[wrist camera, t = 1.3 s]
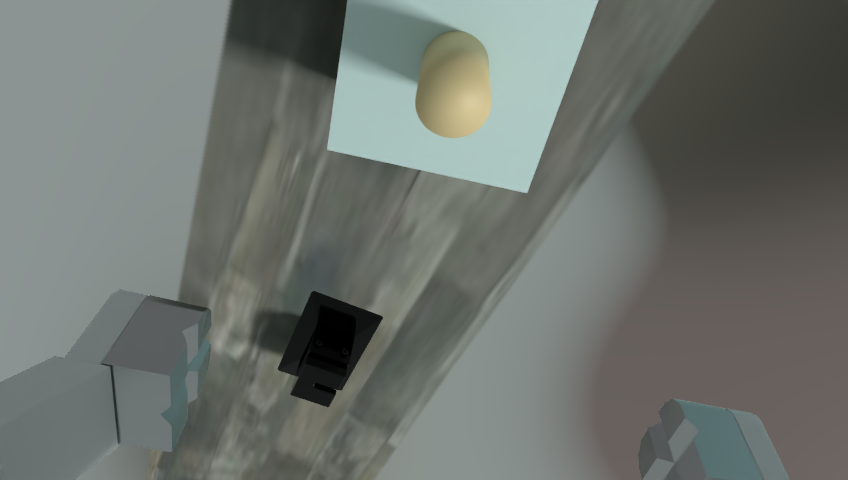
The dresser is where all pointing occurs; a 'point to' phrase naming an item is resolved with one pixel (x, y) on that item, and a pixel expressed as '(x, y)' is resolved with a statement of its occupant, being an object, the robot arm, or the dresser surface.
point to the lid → (455, 83)
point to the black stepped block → (326, 347)
